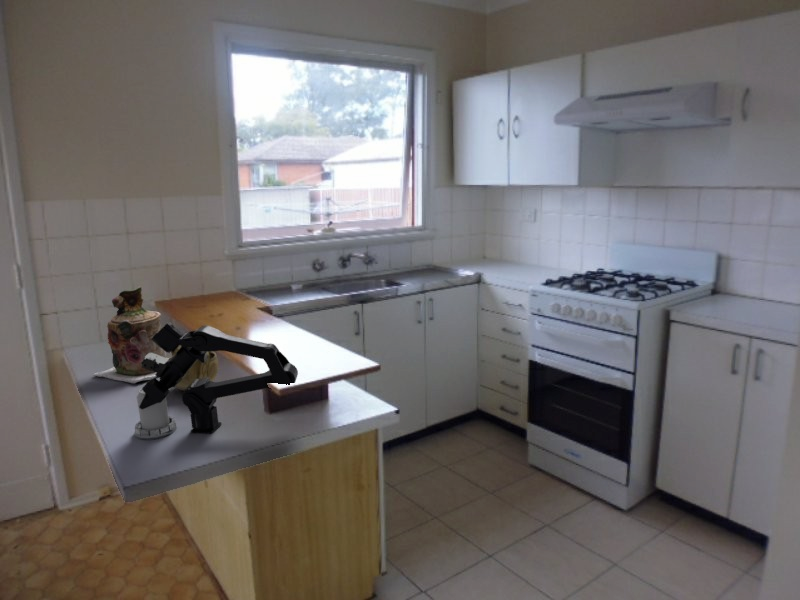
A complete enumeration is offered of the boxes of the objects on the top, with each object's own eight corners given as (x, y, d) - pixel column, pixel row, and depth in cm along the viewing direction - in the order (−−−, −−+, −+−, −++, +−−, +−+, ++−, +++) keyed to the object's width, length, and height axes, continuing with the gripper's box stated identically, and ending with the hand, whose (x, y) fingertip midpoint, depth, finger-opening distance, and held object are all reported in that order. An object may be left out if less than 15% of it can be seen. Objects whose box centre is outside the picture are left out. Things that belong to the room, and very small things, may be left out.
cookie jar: (145, 357, 241) (134, 279, 234) (191, 364, 230) (181, 282, 223) (90, 377, 219) (76, 292, 212) (138, 386, 209) (125, 296, 201)
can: (154, 421, 176) (148, 382, 174) (175, 423, 174) (170, 384, 171) (136, 432, 169) (129, 392, 167) (157, 435, 167) (151, 394, 164)
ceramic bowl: (155, 387, 206) (150, 346, 203) (201, 374, 218) (196, 334, 215) (186, 403, 191) (181, 359, 188) (234, 388, 203) (229, 345, 199)
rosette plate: (183, 423, 176) (182, 415, 176) (163, 440, 166) (161, 432, 165) (149, 422, 178) (148, 414, 178) (127, 439, 168) (125, 430, 167)
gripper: (169, 334, 175) (136, 372, 177) (145, 355, 157) (109, 396, 159) (199, 359, 177) (166, 396, 179) (179, 381, 159) (143, 422, 161)
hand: (146, 401), depth 170 cm, fingers open, 9 cm apart
